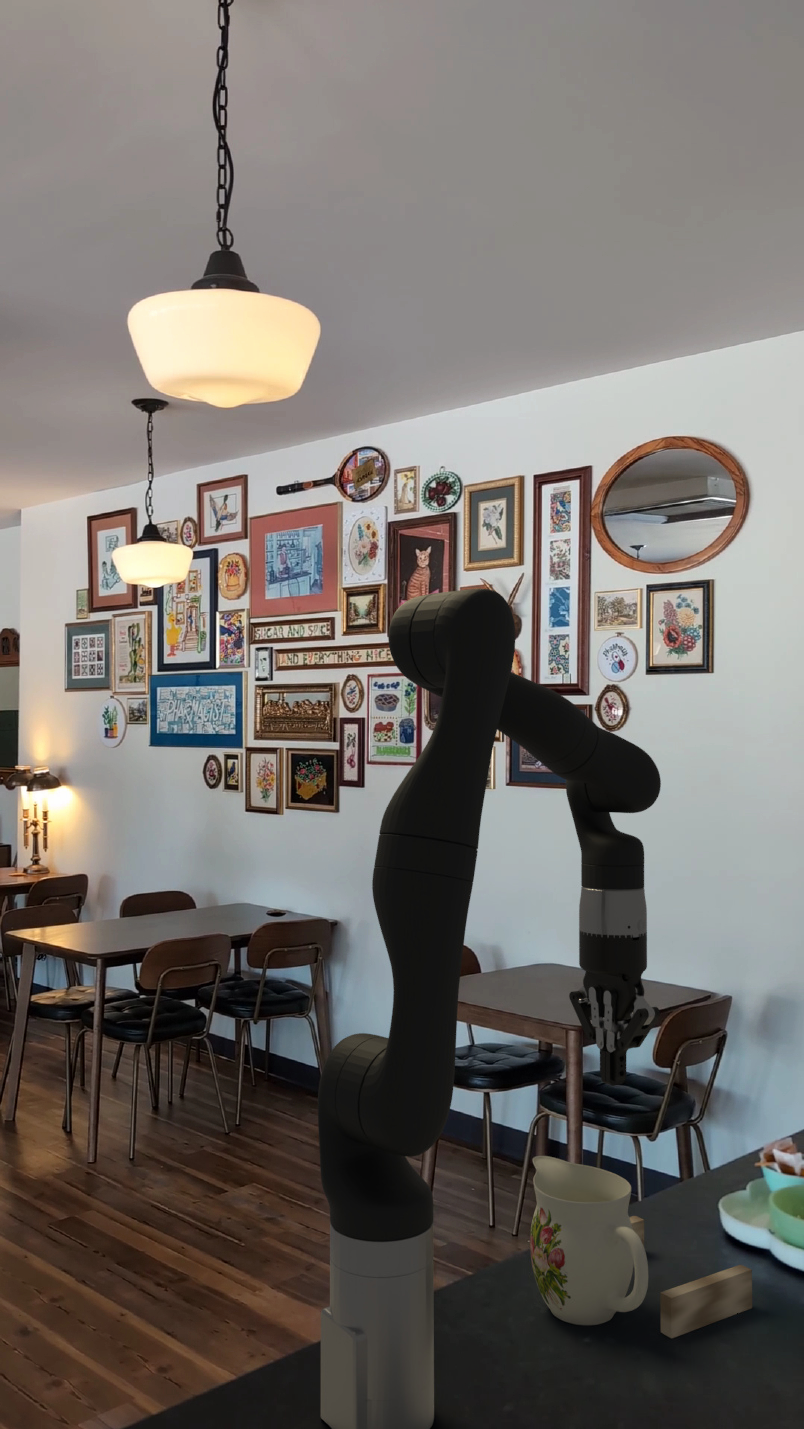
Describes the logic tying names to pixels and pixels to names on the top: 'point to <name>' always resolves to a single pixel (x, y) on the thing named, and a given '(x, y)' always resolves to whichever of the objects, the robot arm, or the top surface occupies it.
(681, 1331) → the oak rails
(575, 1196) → the pitcher
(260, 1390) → the top surface
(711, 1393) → the top surface
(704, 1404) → the top surface
